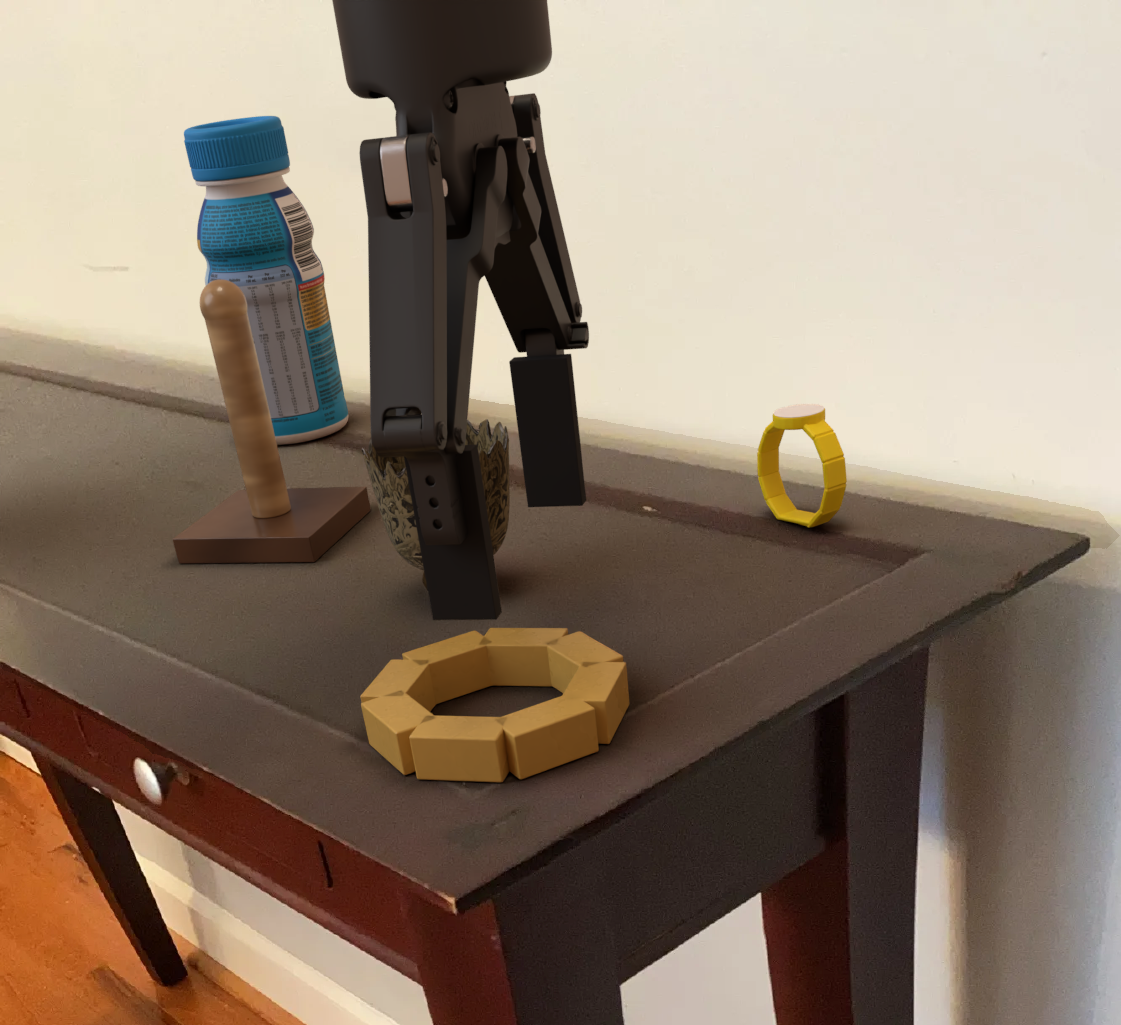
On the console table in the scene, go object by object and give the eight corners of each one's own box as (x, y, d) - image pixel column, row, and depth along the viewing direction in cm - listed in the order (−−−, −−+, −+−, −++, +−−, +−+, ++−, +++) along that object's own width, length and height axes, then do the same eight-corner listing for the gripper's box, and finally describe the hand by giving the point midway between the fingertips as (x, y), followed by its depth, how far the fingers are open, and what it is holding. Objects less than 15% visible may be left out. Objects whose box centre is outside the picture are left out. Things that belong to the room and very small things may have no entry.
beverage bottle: (264, 455, 99) (190, 133, 87) (227, 433, 105) (153, 130, 93) (369, 428, 102) (312, 113, 90) (327, 409, 108) (268, 111, 96)
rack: (178, 563, 82) (105, 302, 73) (244, 512, 89) (184, 268, 80) (314, 562, 79) (255, 292, 71) (371, 510, 86) (323, 257, 78)
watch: (856, 527, 74) (859, 412, 71) (817, 540, 73) (818, 425, 70) (785, 504, 79) (784, 395, 75) (747, 516, 78) (745, 406, 74)
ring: (337, 777, 57) (327, 734, 56) (425, 666, 66) (418, 627, 64) (588, 786, 54) (583, 741, 53) (647, 669, 63) (644, 627, 61)
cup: (415, 630, 69) (386, 469, 65) (373, 587, 75) (343, 437, 70) (548, 594, 71) (530, 436, 67) (497, 555, 77) (477, 406, 72)
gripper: (408, -58, 37) (515, 677, 49) (621, -71, 55) (658, 464, 68) (165, -20, 39) (327, 676, 52) (449, -45, 58) (516, 469, 70)
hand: (516, 556), depth 60 cm, fingers open, 13 cm apart
